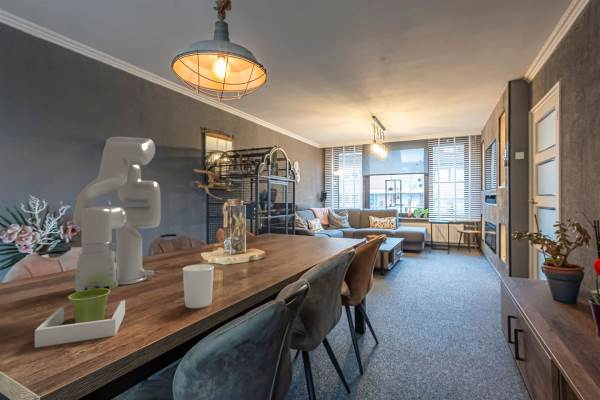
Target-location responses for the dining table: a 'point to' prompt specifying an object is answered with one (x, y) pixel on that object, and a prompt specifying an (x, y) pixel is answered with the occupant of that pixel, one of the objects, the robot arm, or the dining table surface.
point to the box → (76, 328)
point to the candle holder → (198, 285)
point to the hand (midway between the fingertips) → (97, 308)
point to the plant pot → (89, 304)
